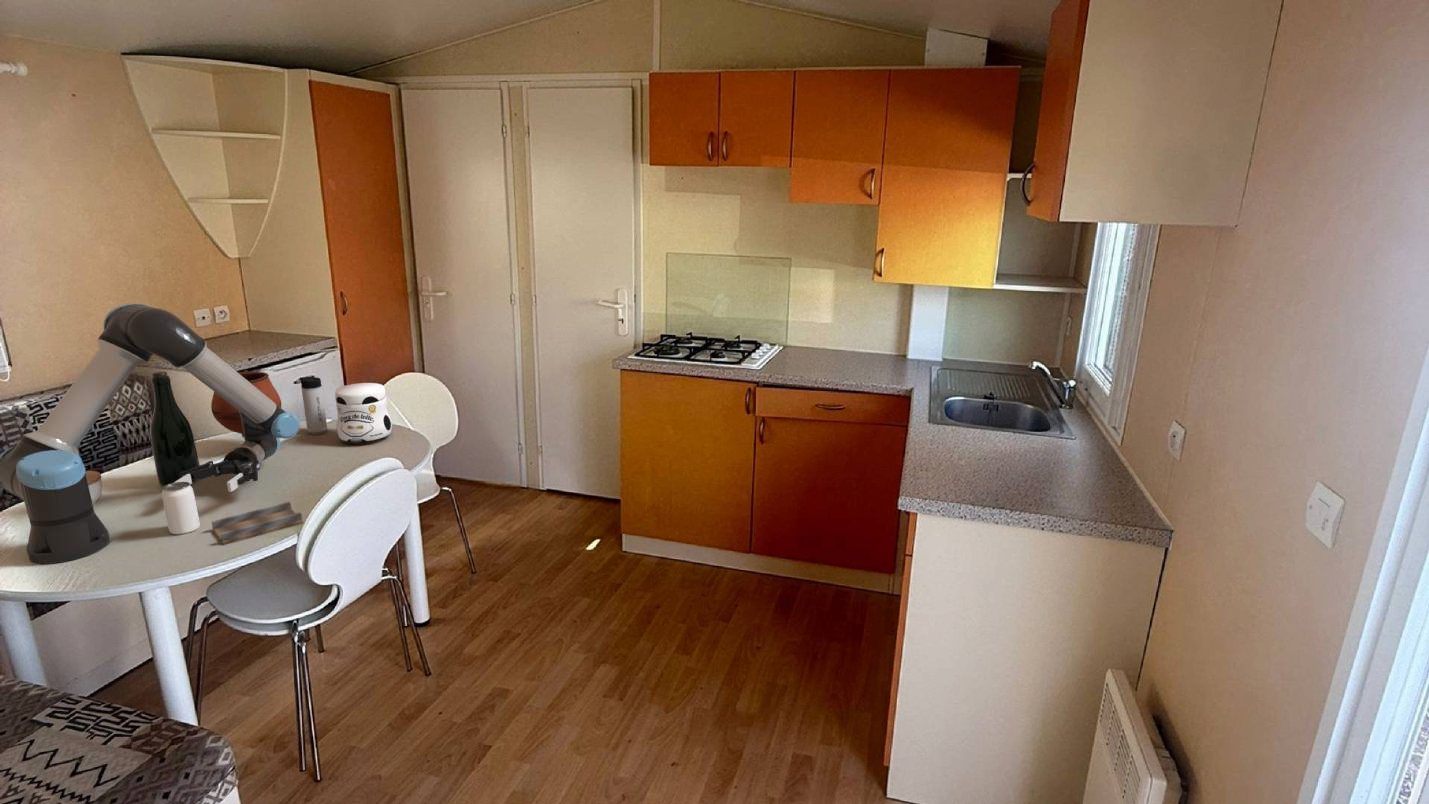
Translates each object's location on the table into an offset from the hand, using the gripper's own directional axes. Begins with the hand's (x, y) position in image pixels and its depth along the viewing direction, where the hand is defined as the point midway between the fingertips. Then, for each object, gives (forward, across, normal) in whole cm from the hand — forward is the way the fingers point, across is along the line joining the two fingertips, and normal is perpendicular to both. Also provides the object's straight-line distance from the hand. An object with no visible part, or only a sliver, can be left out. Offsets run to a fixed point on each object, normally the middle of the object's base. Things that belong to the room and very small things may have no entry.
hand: (202, 487), depth 198 cm
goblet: (-49, +12, -8) cm, 51 cm away
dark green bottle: (-23, +20, -8) cm, 31 cm away
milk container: (-59, -20, -8) cm, 63 cm away
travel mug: (-67, -1, -8) cm, 67 cm away
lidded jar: (-7, +36, -8) cm, 38 cm away
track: (+9, -17, -7) cm, 21 cm away
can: (+10, 0, -8) cm, 12 cm away
